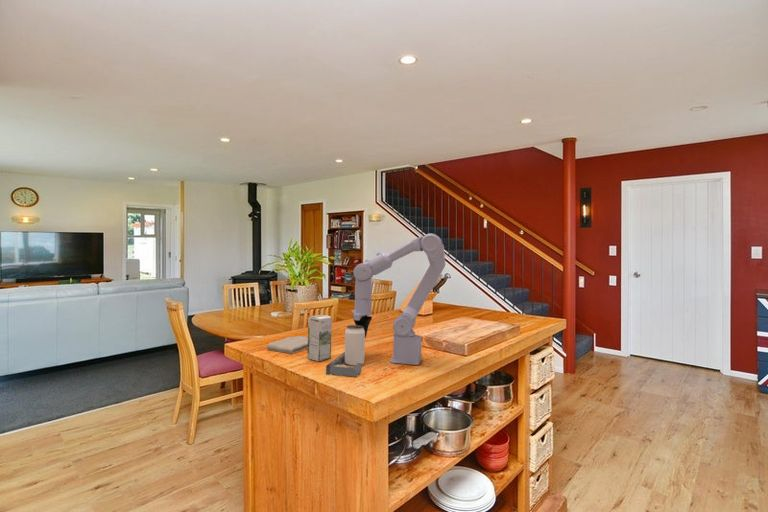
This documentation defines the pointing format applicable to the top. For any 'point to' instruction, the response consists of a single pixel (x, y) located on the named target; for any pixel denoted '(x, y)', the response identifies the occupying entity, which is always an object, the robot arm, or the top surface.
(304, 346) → the washcloth
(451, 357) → the top surface
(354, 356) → the can
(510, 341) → the top surface
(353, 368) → the metal bracket
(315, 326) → the syrup box
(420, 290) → the robot arm
